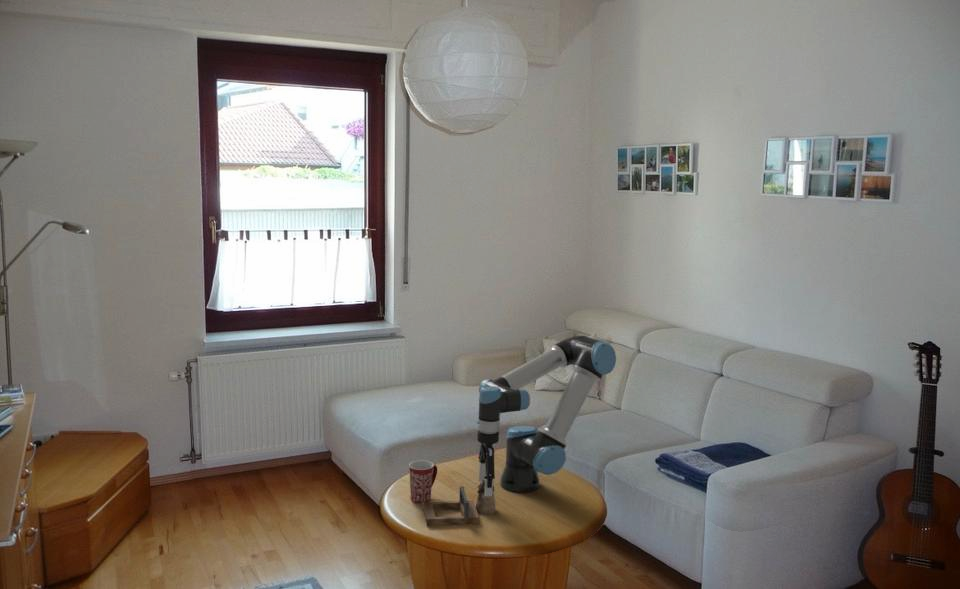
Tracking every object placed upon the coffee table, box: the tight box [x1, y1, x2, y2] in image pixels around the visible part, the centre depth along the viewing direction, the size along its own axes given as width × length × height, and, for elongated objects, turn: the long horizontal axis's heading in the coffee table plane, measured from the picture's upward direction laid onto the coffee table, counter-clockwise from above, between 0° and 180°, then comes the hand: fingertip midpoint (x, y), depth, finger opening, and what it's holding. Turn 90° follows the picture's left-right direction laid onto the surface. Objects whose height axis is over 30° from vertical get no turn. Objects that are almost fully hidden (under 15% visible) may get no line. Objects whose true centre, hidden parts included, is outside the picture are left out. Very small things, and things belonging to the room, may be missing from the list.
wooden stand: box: [422, 486, 480, 527], centre depth 278 cm, size 18×14×8 cm
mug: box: [408, 459, 438, 505], centre depth 292 cm, size 13×9×14 cm
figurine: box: [475, 479, 496, 515], centre depth 284 cm, size 7×7×12 cm
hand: (485, 488), depth 283 cm, fingers open, 13 cm apart
